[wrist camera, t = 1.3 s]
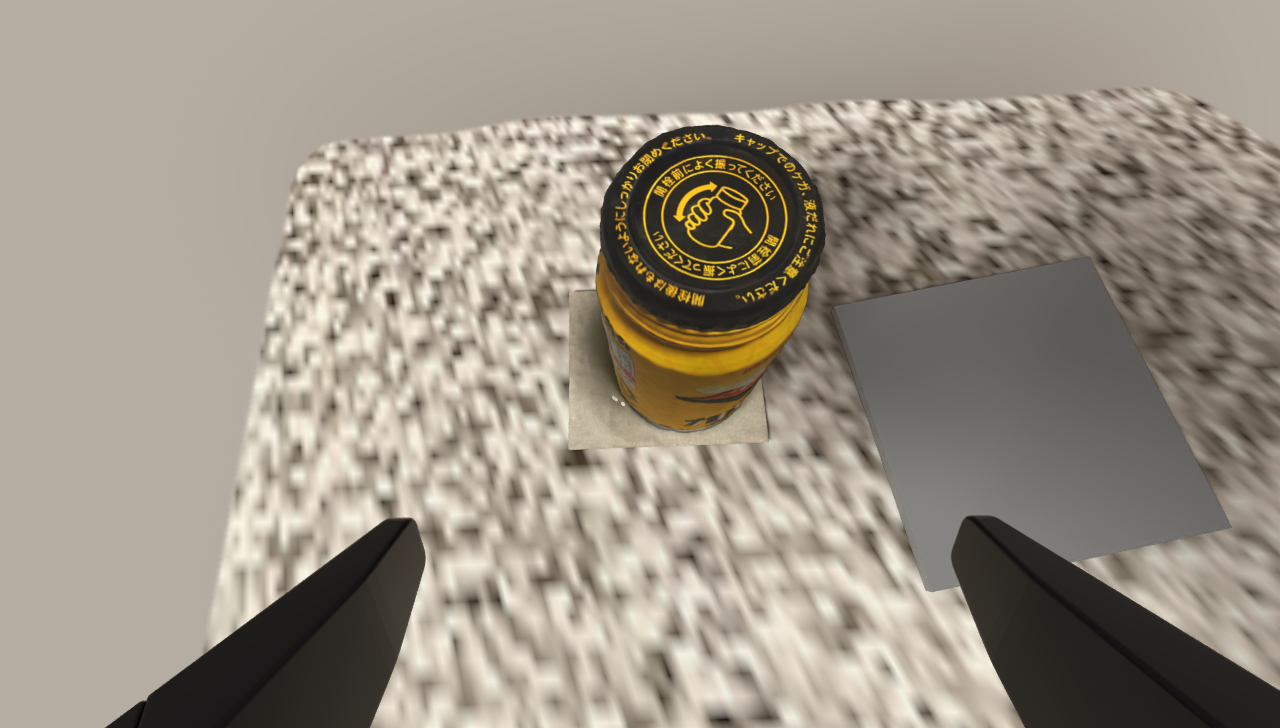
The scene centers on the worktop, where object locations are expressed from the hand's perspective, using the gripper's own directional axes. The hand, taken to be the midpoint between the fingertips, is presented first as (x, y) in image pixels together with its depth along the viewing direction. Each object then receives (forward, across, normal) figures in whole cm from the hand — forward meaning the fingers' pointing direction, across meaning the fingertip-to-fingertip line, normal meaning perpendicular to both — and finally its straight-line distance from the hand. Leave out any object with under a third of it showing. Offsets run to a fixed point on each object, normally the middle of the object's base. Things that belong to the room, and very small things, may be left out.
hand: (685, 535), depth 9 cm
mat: (+12, -15, +6) cm, 20 cm away
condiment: (+14, 0, +4) cm, 15 cm away
